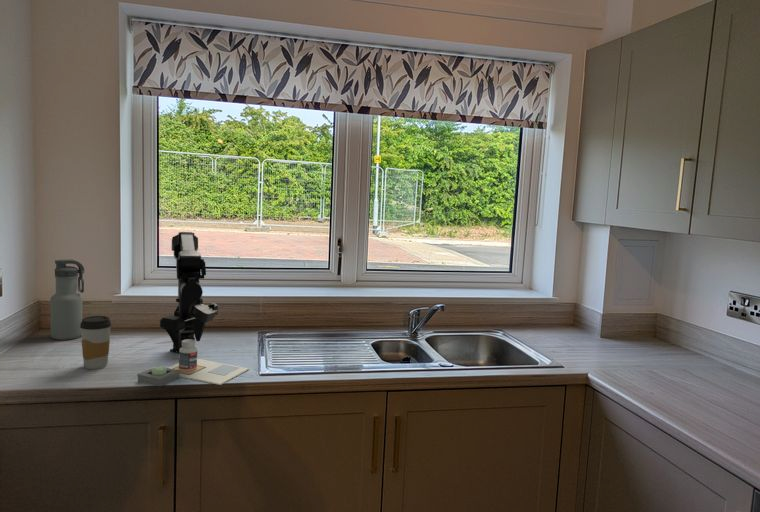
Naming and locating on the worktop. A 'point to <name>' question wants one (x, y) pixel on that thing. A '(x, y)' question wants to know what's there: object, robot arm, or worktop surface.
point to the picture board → (211, 372)
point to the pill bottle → (188, 355)
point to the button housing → (158, 377)
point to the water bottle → (67, 301)
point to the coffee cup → (95, 341)
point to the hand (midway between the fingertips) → (188, 344)
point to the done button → (159, 371)
